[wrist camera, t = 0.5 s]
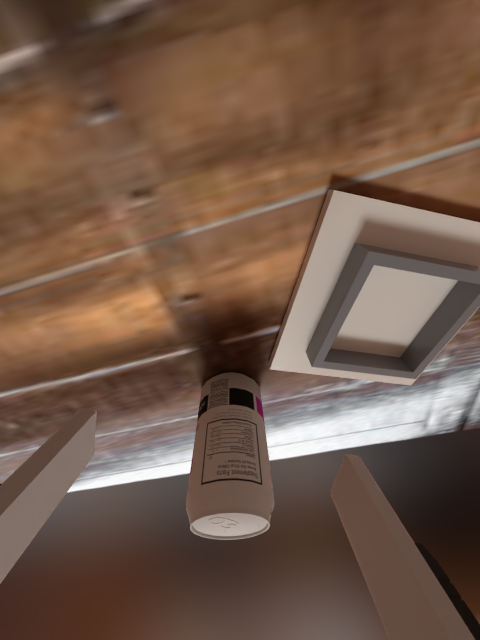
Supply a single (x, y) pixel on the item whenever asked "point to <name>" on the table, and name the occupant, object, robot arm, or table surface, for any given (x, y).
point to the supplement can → (230, 462)
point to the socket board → (379, 291)
